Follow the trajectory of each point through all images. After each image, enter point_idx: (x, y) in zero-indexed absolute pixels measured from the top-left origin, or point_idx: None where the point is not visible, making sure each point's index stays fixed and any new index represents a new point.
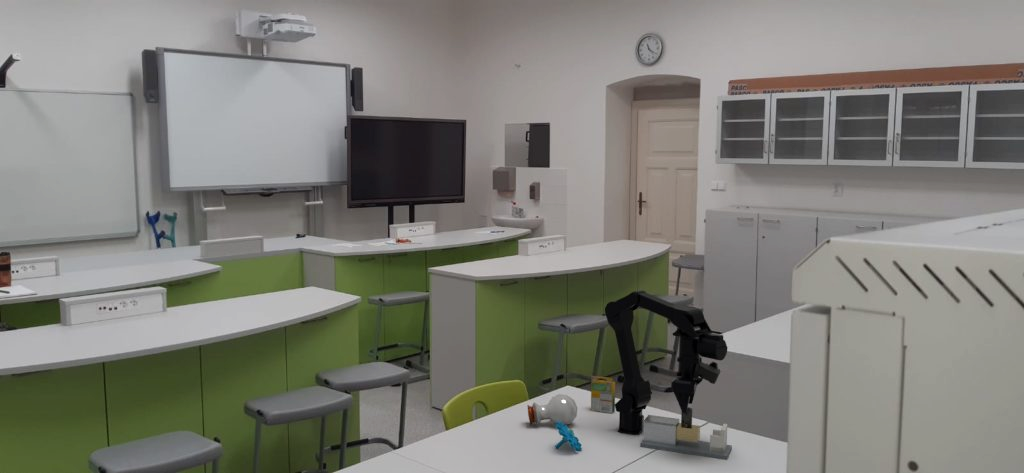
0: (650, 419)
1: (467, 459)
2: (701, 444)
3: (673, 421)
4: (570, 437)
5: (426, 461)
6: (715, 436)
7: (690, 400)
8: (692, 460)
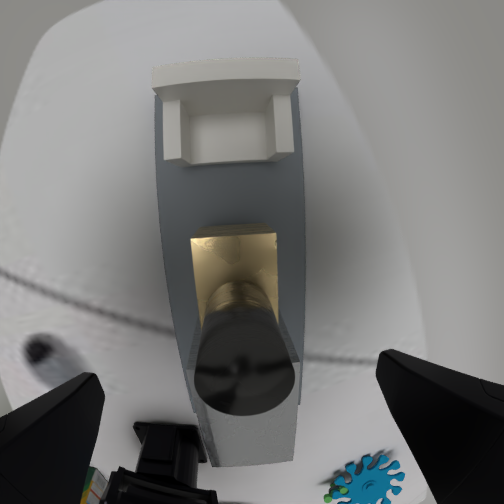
0: (270, 452)
1: (414, 486)
2: (203, 214)
3: None
4: (377, 481)
5: (419, 493)
6: (291, 121)
7: (89, 399)
8: (359, 214)
